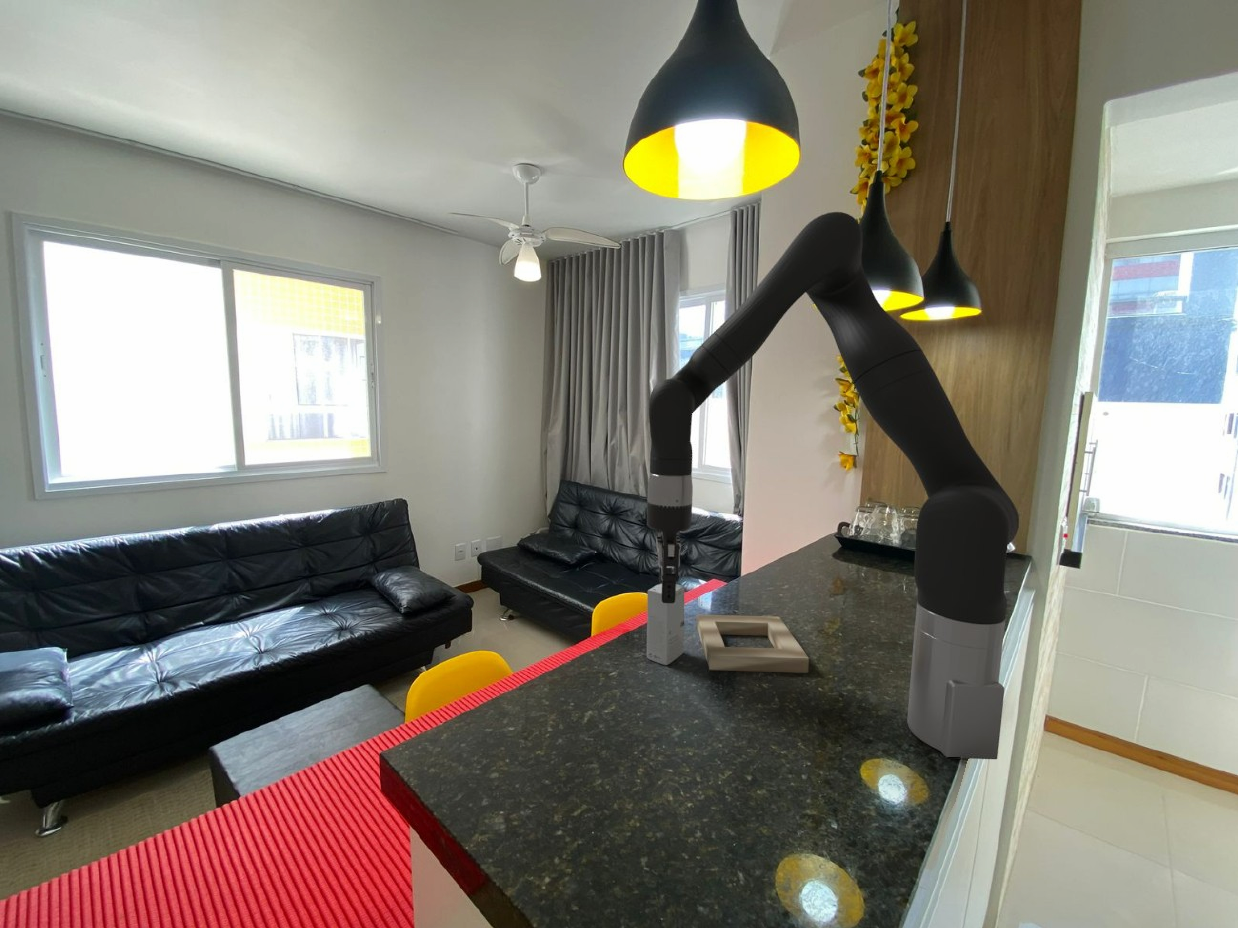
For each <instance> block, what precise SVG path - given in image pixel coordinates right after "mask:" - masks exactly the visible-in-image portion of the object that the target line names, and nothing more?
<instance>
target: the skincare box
mask: <svg viewBox="0 0 1238 928" xmlns="http://www.w3.org/2000/svg"><path fill="white" fill-rule="evenodd" d="M646 596H647V603H646V605H647V606H646V608H647V610H646V611H647V613H646V619H647V620H646V658H647V659H649V660H650V661H652V662H655V663H658V664H661V665H663V666H668V665H669V664H671V663H673V662H674V661H675V660H677V659H678V658H679V657H680V656H681V655H682V654H683V653H684V652H685V651H684V650H685V648H684V647H685V646H684V645H685V644H684V643H685V586H684V585H681V584H679V583H678V584H677V583H676V594H675V602H674V603H663V602H662V599H661V598H662V584H660V583H659V584H656V585H655V586H653V587H651V588H650V589H648V590H647V595H646Z"/></svg>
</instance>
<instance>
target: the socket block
mask: <svg viewBox="0 0 1238 928" xmlns="http://www.w3.org/2000/svg"><path fill="white" fill-rule="evenodd" d="M696 629H697V632H698V633H697V634H698V636H699V639H700V644H701V646H702V650H703V653H704V655H705V659H706V662H707V666H708V669H709V671H732V672H733V671H734V672H735V671H736V672H764V673H765V672H768V673H772V672H773V673H799V674H801V673H804V674H806V673H807V674H808V673H809V661H810V657H808V655H807V654H806V652H805V651H804V649H803V648H802V647H801V645H800V644H799V642H798V641H797V640H796V638H795V636H793V635H792V633H791V631H790V630H789V629H788V627H787V626H786V625H785V623H784V622H783V620H782V619H781V618H780V617H779V616H770V615H769V616H768V615H767V616H766V615H765V616H763V615H762V616H761V615H734V614H733V615H732V614H731V615H730V614H729V615H728V614H727V615H726V614H725V615H724V614H696ZM721 635H731V636H733V635H734V636H736V635H737V636H739V635H740V636H767V638H768V640H769V641H770V643H771V645H773V647H769V648H768V647H740V646H739V647H738V646H737V647H736V646H735V647H734V646H733V647H729V646H725V644H724V641H723V638H722V636H721Z"/></svg>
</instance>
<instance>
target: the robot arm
mask: <svg viewBox="0 0 1238 928" xmlns="http://www.w3.org/2000/svg"><path fill="white" fill-rule="evenodd" d="M862 253H863V231H862V227H861V225H860V224H859V222H858V220H857V219H856V218H855V217H854V216H852V215H850V214H848V213H846V212H842V211H831V212H827V213H824V214H821V215H819V216H817V217H814V219H812V220H810V222H808V224H806V225H805V226H804V227H803V228H802V230H800V232H799V233H798V234H797V235H796V236H795V238H794V239H793V240H792V242H791V243H790V245H788V247H787V249H786V250H785V251H784V253H783V254H782V255H781V257H780V258H779V259H778V261H777V262H776V263H775V264H774V265H773V267H772V268H771V269H770V270H769V271H768V272H767V274H766V275H765V277H764V278H763V279H762V280H761V281H760V282H759V284H758V285H757V287H755V288H754V290H753V291H752V292H751V293H750V295H749V296H748V297H746V299H745V300H744V301H743V303H741V304H740V306H739V307H738V308H737V309H736V310H735V311H734V312H733V313H732V314H731V315H730V316H729V317H728V318H727V319H726V320H725V321H724V322H723V323H722V324H721V325H720V326H719V327H718V328H717V329H716V330H714V332H713V333H711V335H710V336H708V338H707V339H706V340H705V341H704V342H703V343H701V345H699V346H698V348H696V350H695V351H694V352H693V353H692V355H691V356H690V358H689V359H688V362H687V363H686V364H684V366H682V368H680V369H679V370H678V371H677V372H676V373H675V374H674V375H673V376H672V377H671V378H666V379H664V380H661V381H660V382H659V383H657V384H656V385H655V386H654V387H653V389H652V391H651V392H650V397H649V401H648V403H649V404H648V405H649V406H648V417H649V418H648V419H649V420H648V421H649V434H650V439H651V440H650V442H651V445H650V454H649V455H650V456H649V478H648V482H647V483H648V484H647V503H646V506H647V507H646V508H647V509H646V526H647V527H648V528H649V529H651V530H654V531H658V533H659V535H656V536H655V537H656V538H655V541H656V542H655V544H656V555H657V556H658V559H657V560H658V568H659V569H658V570H659V571H658V582H659V584H662V598H661V599H662V602H663V603H674V602H675V594H676V584H677V582H679V579H680V576H679V568H680V565H681V559H680V556H681V555H680V553H681V548H682V541H681V540H680V536H678V535H677V534H678V533H679V532H686V531H689V530H690V529H691V527H692V520H693V519H692V515H693V476H692V473H693V445H692V441H691V438H692V421H693V413H695V412H696V411H697V410H698V408H699V407H700V406H701V405H702V404H703V403H704V402H705V401H706V400H708V398H709V397H710V396H711V395H712V394H713V393H714V392H715V391H716V389H718V388H719V387H720V386H721V385H723V384H724V383H725V382H726V381H728V380H729V379H730V378H731V377H732V376H734V375H735V374H736V373H737V372H738V371H739V370H741V368H742V367H743V366H744V365H746V364H747V363H748V362H749V361H750V359H751V358H752V357H753V356H755V354H756V353H757V352H758V351H759V350H760V348H761V347H762V345H764V343H765V342H766V340H767V339H768V337H769V336H770V335H771V333H772V332H773V330H774V329H775V327H776V326H777V325H778V324H779V322H780V320H781V319H782V318H783V317H784V315H785V314H786V313H787V312H788V311H789V310H790V308H792V307H793V305H794V304H795V303H796V302H797V301H798V300H799V299H800V298H801V297H802V296H803V295H804V294H805V293H806V294H807V296H808V298H809V299H810V300H811V301H812V302H813V304H814V306H815V307H816V308H817V310H818V311H819V313H820V314H821V316H822V318H823V319H824V321H825V322H826V324H827V325H828V327H829V329H830V332H831V334H832V335H833V338H834V340H835V343H836V345H837V349H838V351H839V354H840V356H841V359H842V361H843V363H844V365H845V368H846V369H847V373H848V374H849V377H850V379H851V382H852V383H853V385H854V387H855V389H856V391H857V393H858V396H859V397H860V399H861V401H862V403H863V405H864V406H865V408H866V410H867V412H868V413H869V414H870V416H871V417H872V419H873V420H874V422H875V424H877V425H878V427H879V428H881V430H882V431H883V432H884V433H885V434H886V435H887V436H888V437H889V438H890V440H891V441H892V442H893V443H894V444H895V445H896V446H897V447H898V448H899V450H900V451H901V452H902V453H903V454H904V455H905V457H906V458H907V459H908V460H909V462H910V463H911V465H912V466H913V468H914V469H915V472H916V474H917V476H918V477H919V478H918V479H920V481H921V484H922V486H923V489H924V491H925V494H926V496H927V499H926V500H925V502H924V503H923V504H922V506H921V508H920V509H919V514H918V516H917V522H916V528H915V529H916V530H915V545H914V546H915V548H914V549H915V550H914V551H915V552H914V566H913V567H914V569H913V570H914V573H913V575H914V576H913V577H914V582H915V586H916V590H917V599H916V600H917V601H916V610H915V611H916V613H915V623H914V634H913V647H912V657H911V670H910V671H911V672H910V679H909V680H910V681H909V682H910V683H909V694H908V706H907V707H908V709H907V719H906V722H907V726H908V728H909V730H910V732H911V733H913V735H914V736H916V738H918V739H919V740H921V741H922V742H923V743H925V744H927V745H928V746H930V747H932V748H933V749H935V750H938V751H940V752H941V753H942V754H943V755H944V757H946V758H948V757H962V758H961V759H971V760H973V759H974V760H975V759H976V760H998V755H999V744H1000V736H1001V725H1002V718H1003V717H1002V715H1003V706H1004V699H1005V687H1004V686H1003V685H1002V684H1001V683H1000V674H1001V665H1002V664H1001V662H1002V655H1003V653H1002V652H1003V644H1004V643H1003V642H1004V635H1005V625H1006V617H1007V609H1008V608H1007V607H1008V599H1007V597H1006V595H1005V575H1006V565H1007V554H1008V546H1009V545H1010V544H1011V543H1012V542H1013V541H1014V539H1015V538H1016V536H1017V533H1018V531H1019V528H1020V517H1019V513H1018V510H1017V507H1016V504H1014V502H1013V501H1012V499H1011V498H1010V496H1009V495H1008V493H1007V492H1006V491H1005V489H1004V488H1003V487H1002V485H1000V483H999V482H998V480H997V479H996V478H995V477H994V475H993V474H992V472H991V471H990V470H989V468H988V467H987V465H986V463H985V462H984V461H983V460H982V459H981V457H980V455H978V452H977V451H976V450H975V448H974V447H973V446H972V444H971V442H970V440H969V438H968V437H967V435H966V433H965V431H964V428H963V427H962V425H961V422H960V420H959V418H958V416H957V414H956V411H955V409H954V407H953V405H952V403H951V401H950V400H949V399H950V398H949V397H948V396H947V394H946V391H945V390H944V388H943V386H942V384H941V382H940V380H939V378H938V376H937V374H936V372H935V370H934V368H933V367H932V365H931V364H930V361H929V360H928V358H927V356H926V354H925V352H924V351H923V350H922V348H921V347H920V345H919V344H918V342H917V341H916V339H915V338H914V336H912V334H910V332H908V331H907V329H906V328H905V327H904V326H902V325H901V323H899V322H898V321H897V320H896V319H894V317H892V316H891V315H890V314H889V313H888V312H887V311H886V310H885V309H884V308H883V307H882V306H881V304H880V303H879V301H878V299H877V298H876V296H875V294H874V292H873V290H872V288H871V286H870V285H871V284H870V283H869V281H868V279H867V276H866V274H865V270H864V267H863V262H862V255H863V254H862Z"/></svg>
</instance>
